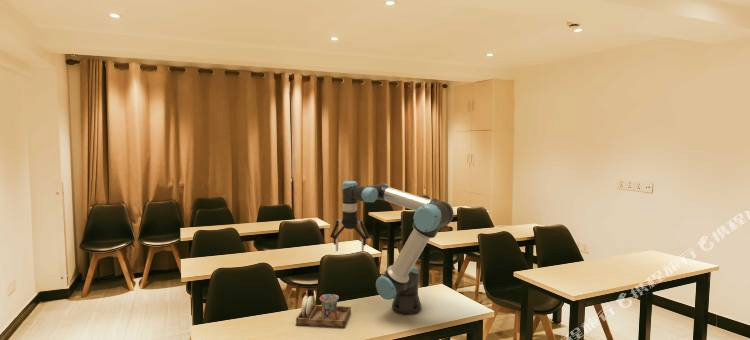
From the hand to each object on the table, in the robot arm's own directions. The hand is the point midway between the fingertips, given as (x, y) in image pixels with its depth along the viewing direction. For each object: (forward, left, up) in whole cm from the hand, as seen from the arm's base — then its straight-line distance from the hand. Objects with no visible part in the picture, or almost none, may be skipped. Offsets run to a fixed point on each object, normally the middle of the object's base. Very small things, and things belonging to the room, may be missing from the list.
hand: (349, 251), depth 231 cm
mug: (+7, +20, -28) cm, 35 cm away
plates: (+17, +20, -28) cm, 38 cm away
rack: (+9, +20, -29) cm, 36 cm away
